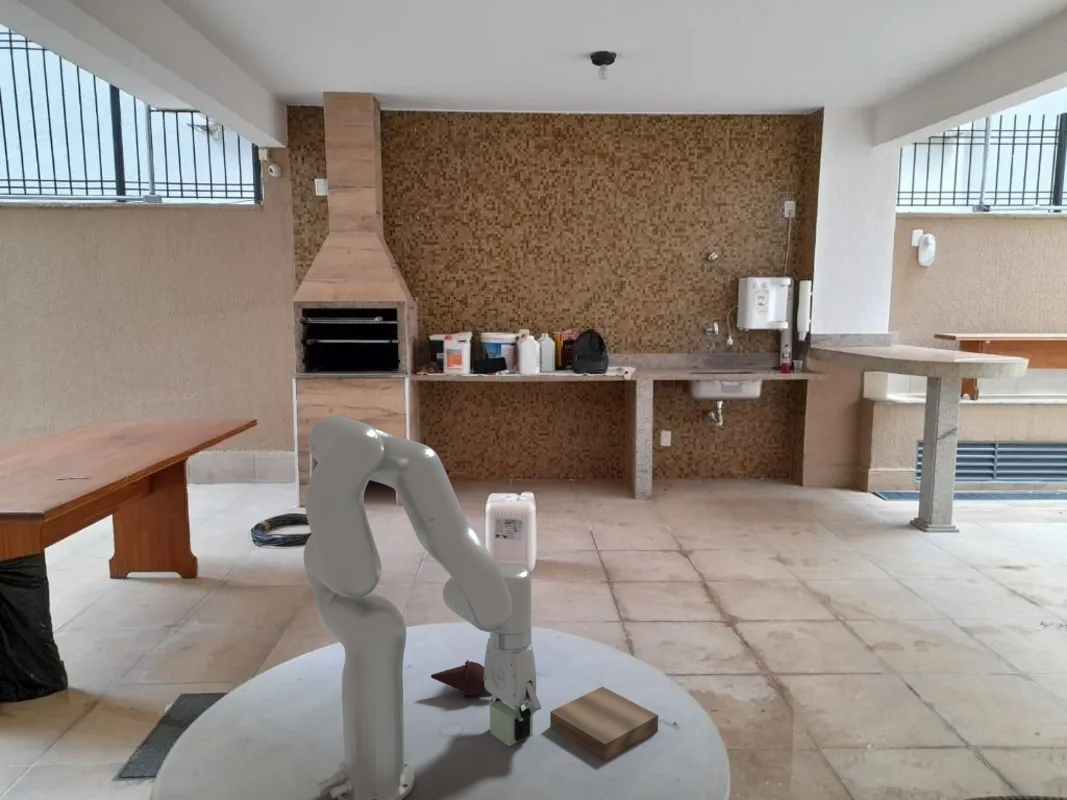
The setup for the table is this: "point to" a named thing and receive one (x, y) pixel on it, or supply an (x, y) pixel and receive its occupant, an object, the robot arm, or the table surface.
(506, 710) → the sage cube
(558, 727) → the walnut base
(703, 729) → the table surface
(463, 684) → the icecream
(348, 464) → the robot arm
